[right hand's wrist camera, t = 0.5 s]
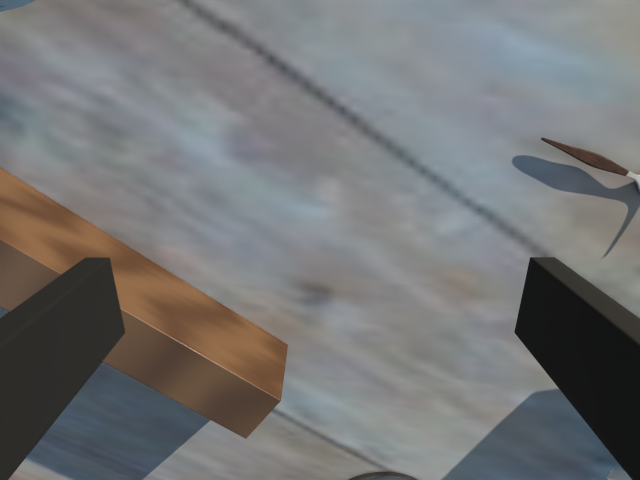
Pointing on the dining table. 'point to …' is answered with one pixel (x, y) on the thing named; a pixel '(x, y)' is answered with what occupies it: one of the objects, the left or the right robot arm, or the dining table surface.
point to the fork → (594, 160)
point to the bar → (146, 313)
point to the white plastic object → (618, 475)
